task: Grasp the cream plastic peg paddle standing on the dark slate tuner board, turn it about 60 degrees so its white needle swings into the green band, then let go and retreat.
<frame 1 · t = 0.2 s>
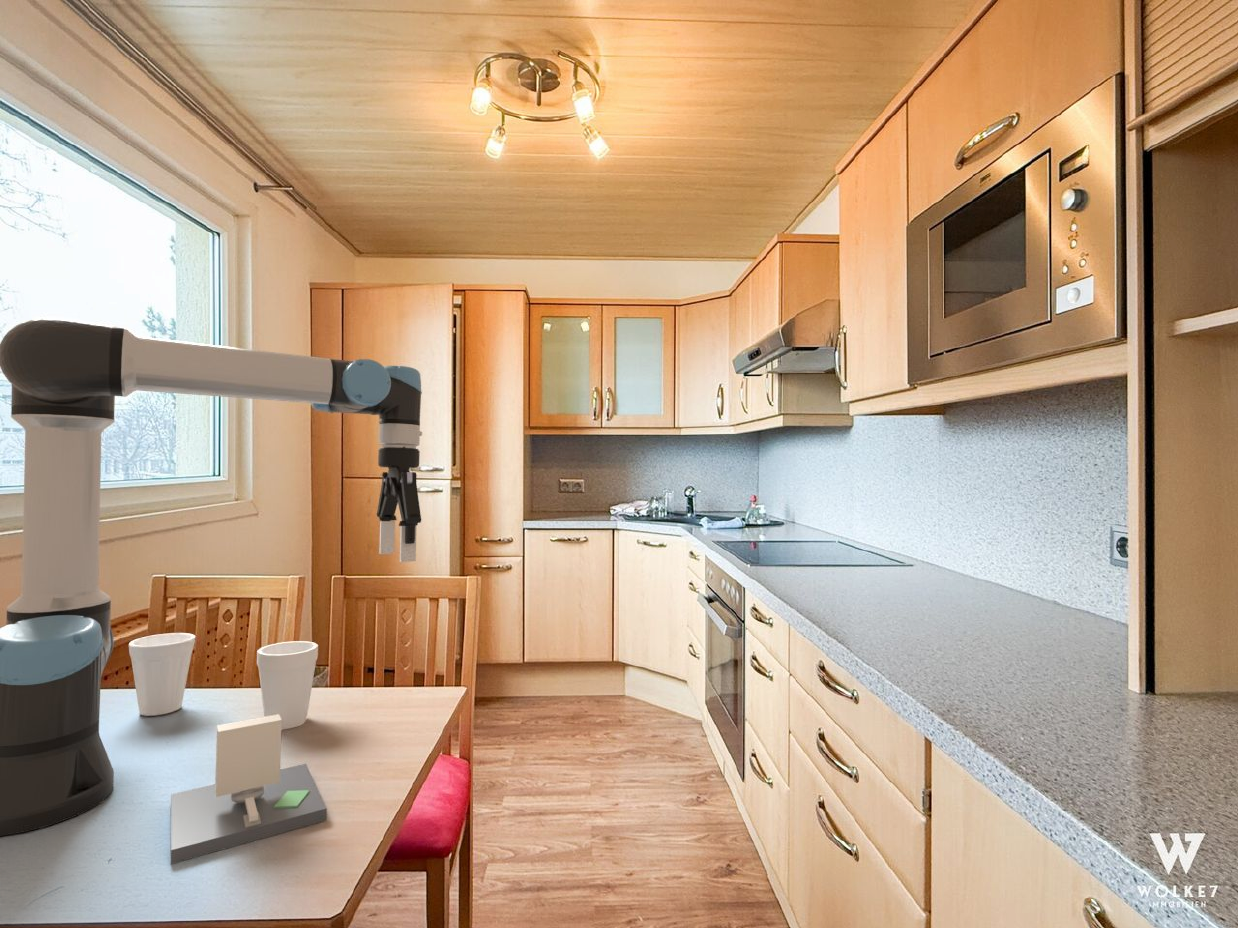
hand: (396, 557, 122), 28 cm above the table, fingers open, 13 cm apart
cup: (160, 712, 115), on the table
peg knob: (250, 769, 79), point 7 cm above the table, hinge at 0.0°
foam cup: (286, 723, 111), on the table
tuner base: (247, 812, 81), on the table
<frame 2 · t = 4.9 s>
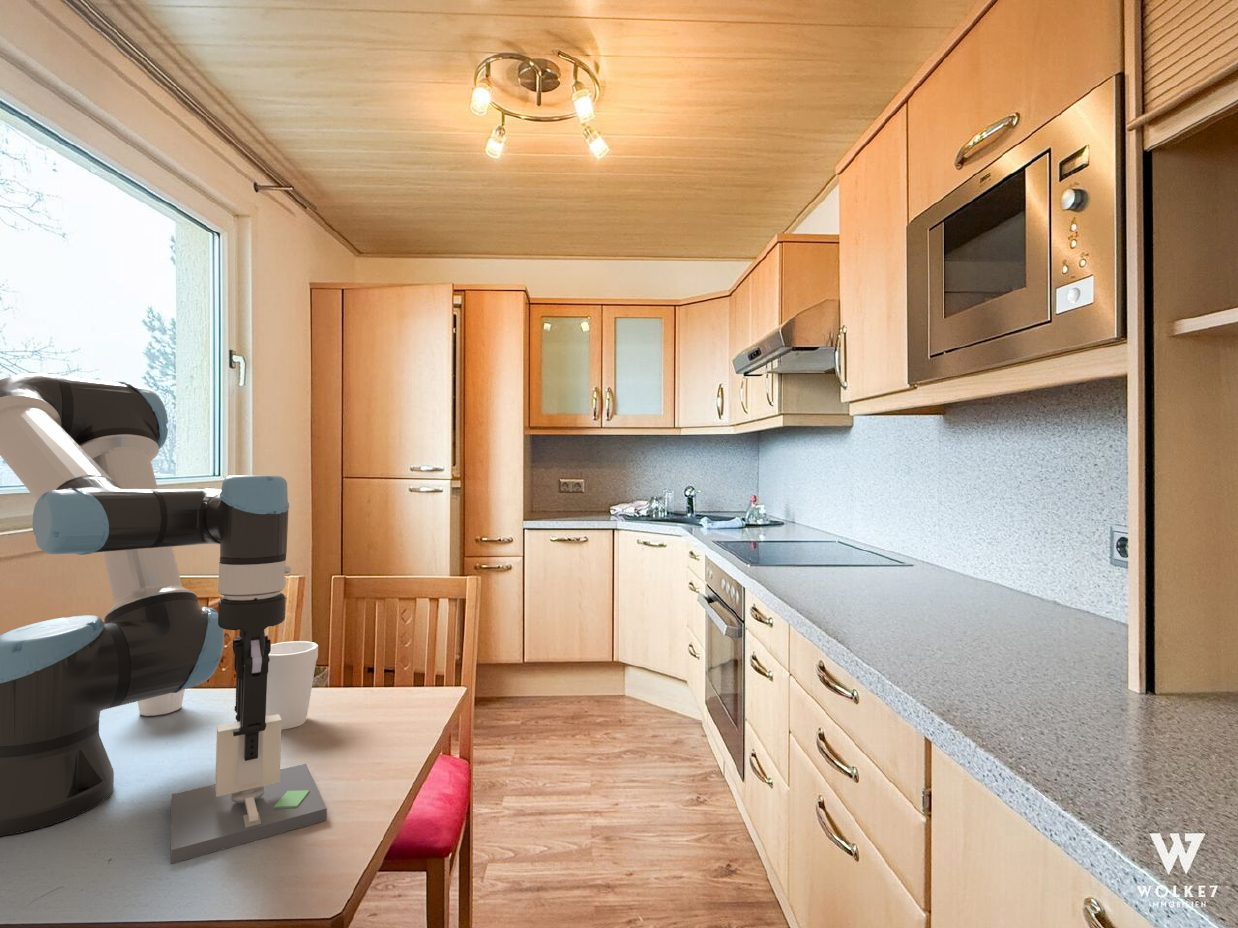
hand: (248, 777, 81), 5 cm above the table, fingers closed on peg knob, 2 cm apart
peg knob: (250, 769, 79), point 7 cm above the table, hinge at 0.0°, touching gripper
everything else where it was.
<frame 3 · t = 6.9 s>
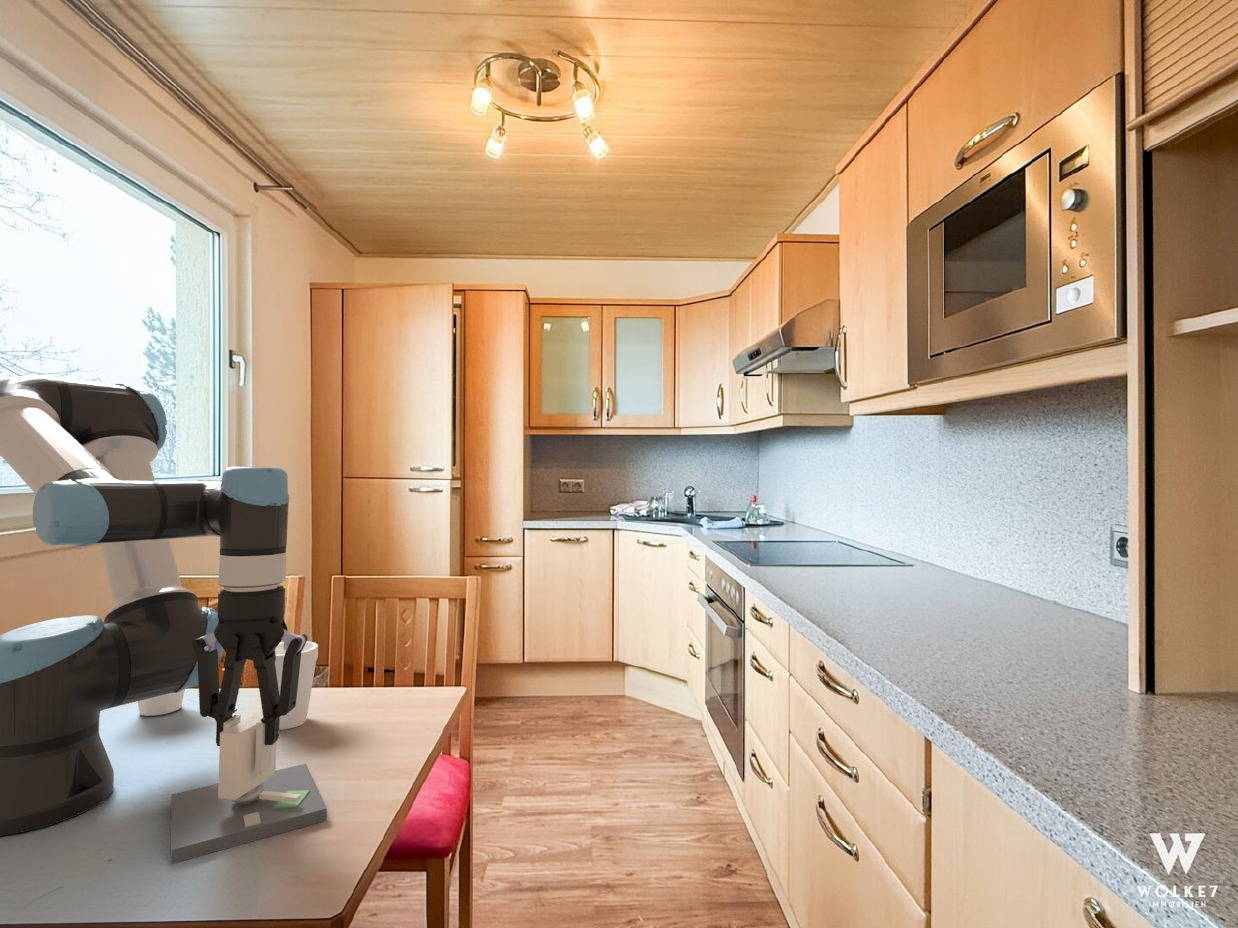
hand: (246, 769, 81), 6 cm above the table, fingers closed on peg knob, 3 cm apart
peg knob: (267, 763, 81), point 7 cm above the table, hinge at 45.2°, touching gripper
everything else where it was.
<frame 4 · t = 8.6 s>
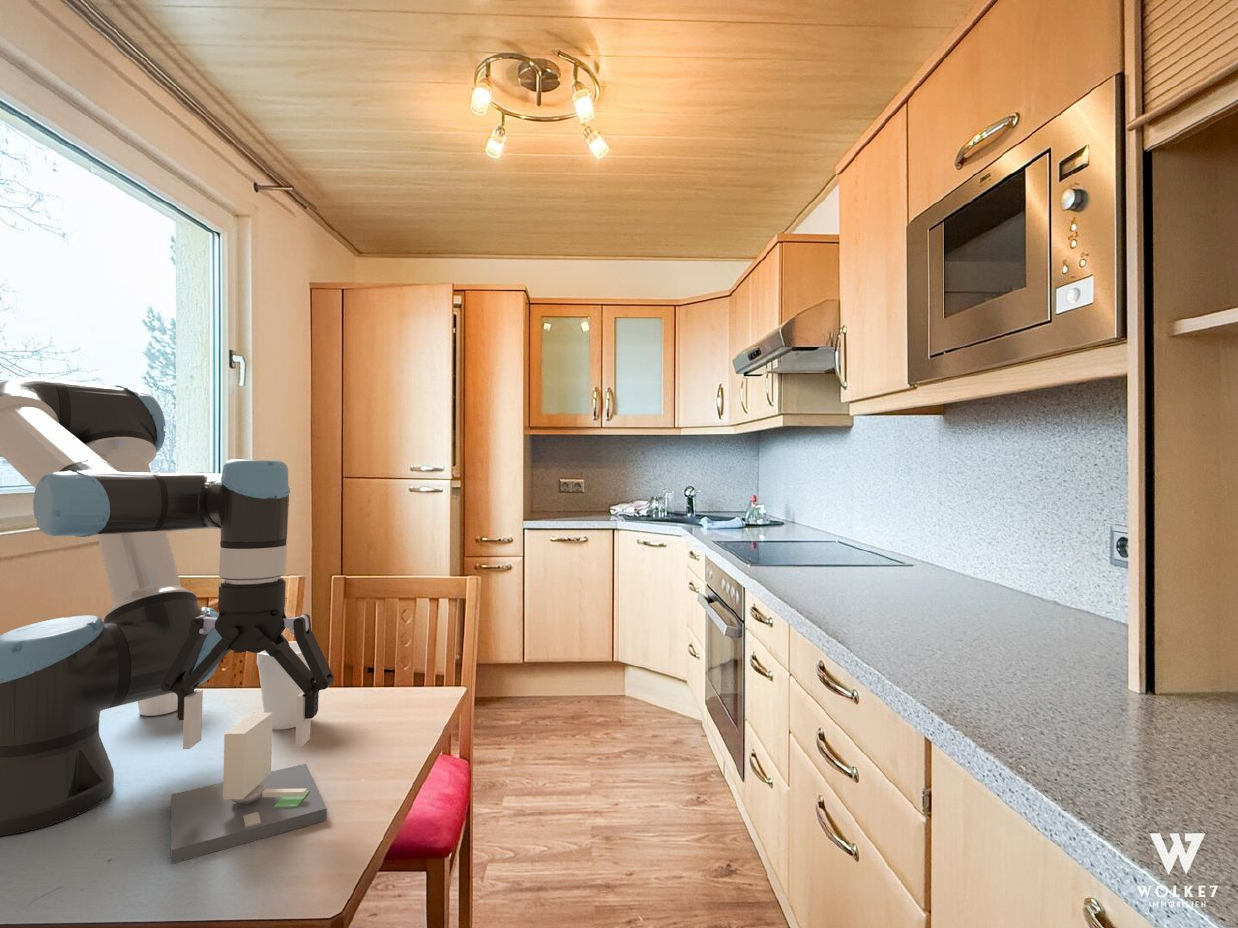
hand: (247, 743, 81), 9 cm above the table, fingers open, 13 cm apart
peg knob: (270, 761, 81), point 7 cm above the table, hinge at 57.8°
everything else where it was.
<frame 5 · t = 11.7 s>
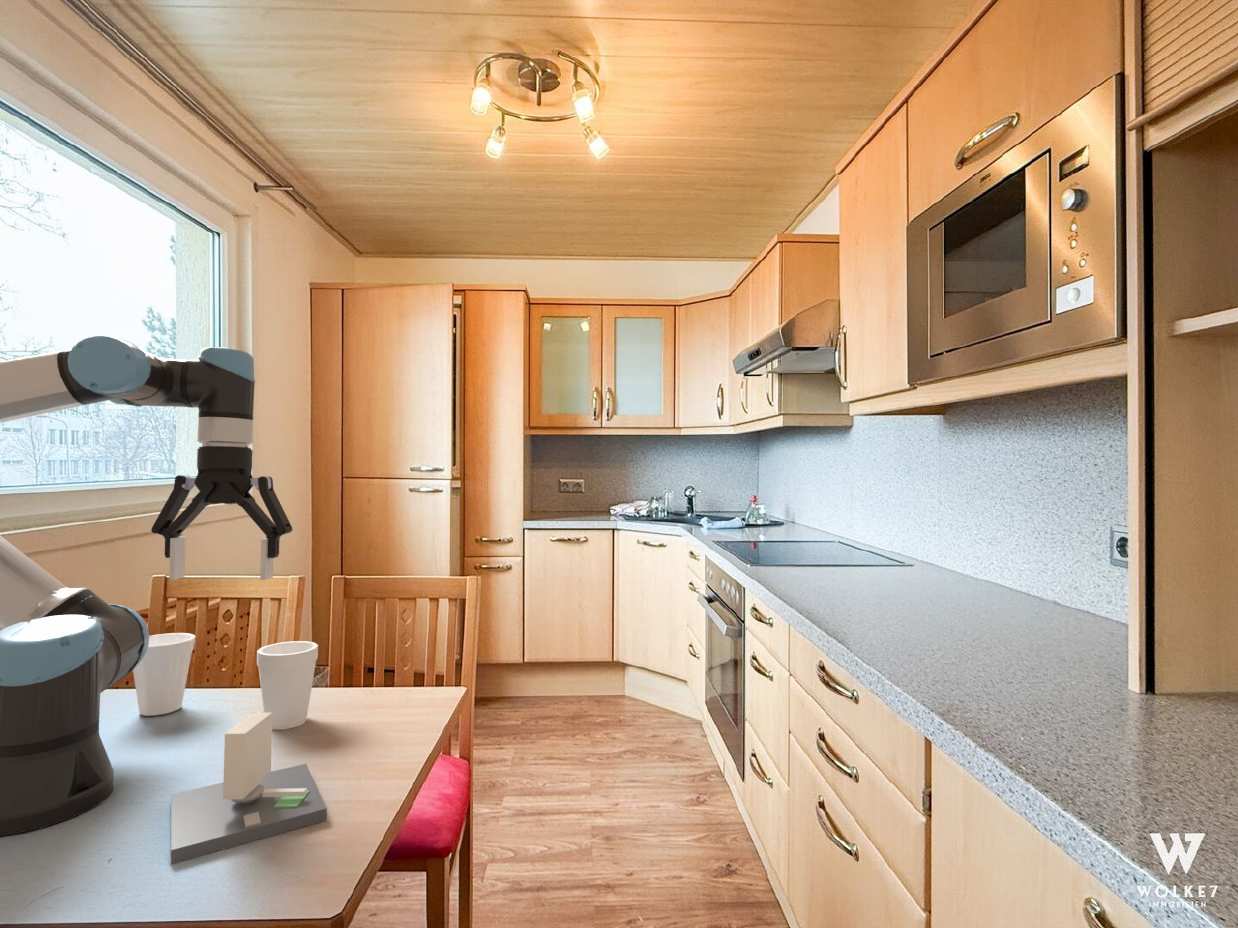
hand: (222, 578, 101), 27 cm above the table, fingers open, 13 cm apart
peg knob: (270, 761, 81), point 7 cm above the table, hinge at 58.6°
everything else where it was.
at the end: peg knob at +59° (first picture: +0°); the gripper is holding nothing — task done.
